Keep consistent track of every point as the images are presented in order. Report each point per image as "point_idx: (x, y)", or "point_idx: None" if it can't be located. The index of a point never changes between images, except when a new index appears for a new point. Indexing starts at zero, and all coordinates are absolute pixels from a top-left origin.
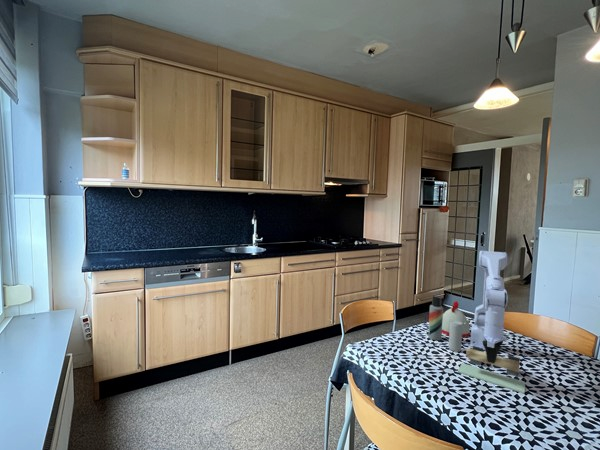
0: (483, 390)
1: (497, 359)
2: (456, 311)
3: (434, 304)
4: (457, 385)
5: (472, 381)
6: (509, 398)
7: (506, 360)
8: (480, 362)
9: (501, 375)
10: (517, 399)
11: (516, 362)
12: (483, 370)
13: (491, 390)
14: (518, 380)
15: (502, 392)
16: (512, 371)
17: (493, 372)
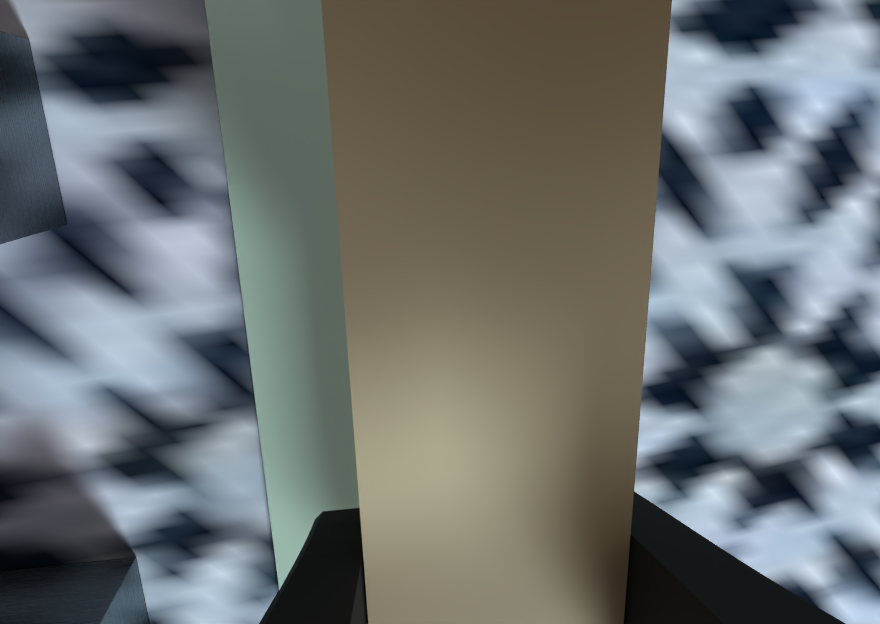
0: (824, 378)
1: (625, 497)
2: None
3: None
4: (863, 590)
5: (682, 513)
6: (852, 99)
7: (549, 285)
8: (114, 596)
9: (263, 274)
10: (823, 3)
11: None
12: (308, 497)
13: (772, 308)
14: (233, 19)
15: (745, 192)
16: (6, 135)
17: (256, 383)
